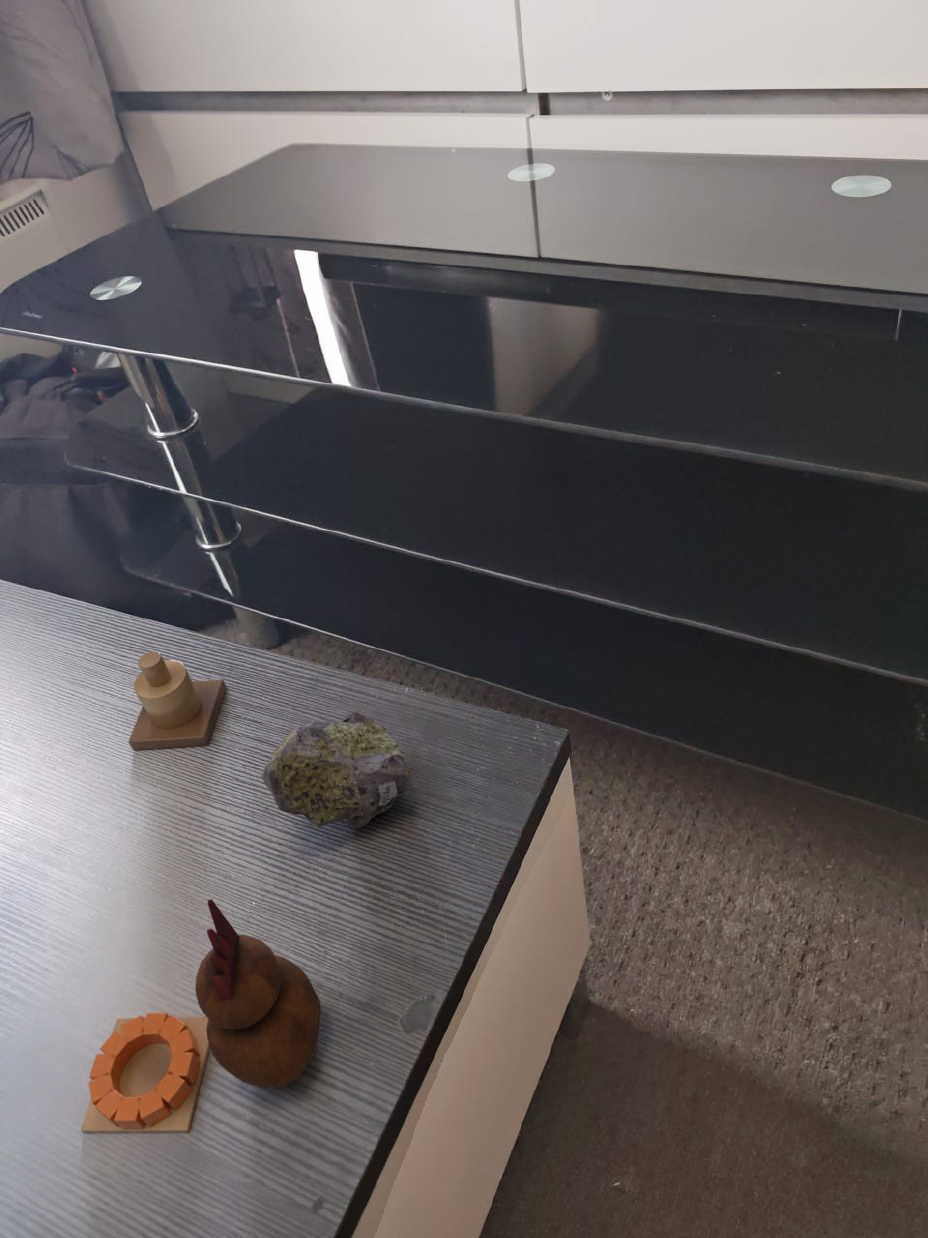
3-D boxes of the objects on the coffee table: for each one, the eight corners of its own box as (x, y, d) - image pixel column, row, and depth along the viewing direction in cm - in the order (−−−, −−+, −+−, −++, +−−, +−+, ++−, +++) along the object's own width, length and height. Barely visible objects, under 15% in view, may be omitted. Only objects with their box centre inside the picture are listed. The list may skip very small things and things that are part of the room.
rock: (373, 886, 67) (340, 805, 60) (269, 845, 71) (227, 765, 64) (441, 775, 73) (418, 691, 67) (342, 744, 78) (311, 661, 71)
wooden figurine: (267, 990, 62) (189, 868, 52) (344, 1008, 60) (278, 886, 50) (221, 1092, 58) (126, 980, 48) (302, 1116, 56) (221, 1004, 46)
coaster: (189, 1132, 56) (187, 1130, 56) (83, 1133, 57) (80, 1130, 57) (217, 1018, 61) (215, 1016, 61) (119, 1021, 62) (116, 1018, 62)
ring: (83, 1129, 57) (73, 1121, 56) (118, 1023, 62) (109, 1014, 61) (184, 1129, 56) (175, 1120, 55) (211, 1021, 61) (204, 1011, 60)
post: (208, 746, 80) (176, 686, 75) (133, 750, 81) (96, 692, 76) (227, 687, 85) (199, 627, 80) (156, 692, 86) (124, 634, 81)
